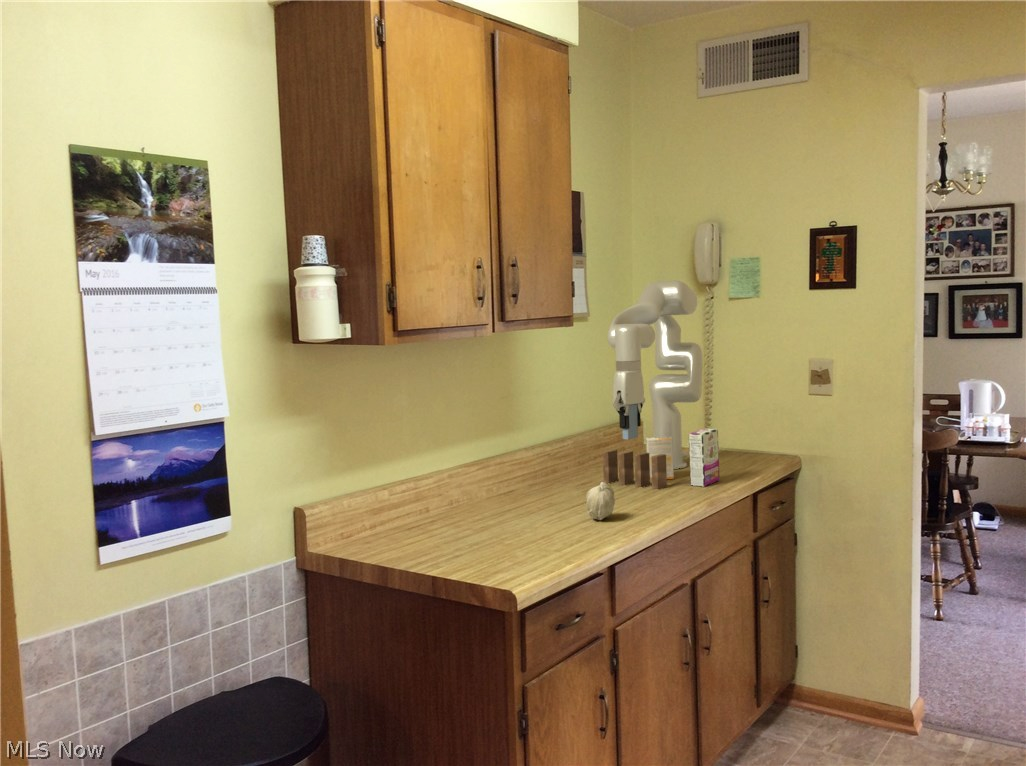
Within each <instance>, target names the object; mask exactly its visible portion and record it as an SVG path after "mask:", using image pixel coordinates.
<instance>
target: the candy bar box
mask: <svg viewBox="0 0 1026 766" xmlns="http://www.w3.org/2000/svg"><path fill="white" fill-rule="evenodd" d="M688 449H689V451H688V453H689V470H690V471H689V472H690V473H689V474H690V475H689V476H690V478H689V479H690V486H691V485H693V486H692V487H698V486H702V487H703V488H706V487H708V486H711V485H713V484H715V483H717V482H719V481H720V461H719V460H720V459H719V456H720V455H719V453H720V451H719V429H718V428H708V427H706V428H705V427H704V428H701V429H698V430H695V431H693V432H689V433H688ZM712 483H713V484H712ZM707 485H708V486H707ZM705 486H706V487H705ZM702 487H701V488H702Z"/></svg>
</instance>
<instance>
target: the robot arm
mask: <svg viewBox="0 0 1026 766" xmlns="http://www.w3.org/2000/svg"><path fill="white" fill-rule="evenodd" d="M697 306H698V297H697V294H696V293H695V291H694V290H693V288H691V287H690V286H689V285H688V284H687V283H685V282H684V281H682V280H681V281H680V280H661V281H660V280H659V281H653V282H652V281H651V282H649V283H648V284H646V286H644V288H643V291H642V292H641V294H640V296H639V298H638V300H637V302H636V304H633V305H632V306H630V307H628V308H626V309H624V310H622V311H621V312H619V313H617V314H616V315H615V316H614V318H613V320H612V322H611V324H610V325H609V328H608V331H607V342H608V344H609V346H610V347H611V348H612V349H615V351H614V352H615V372H614V375H613V376H614V377H613V382H612V383H613V384H612V385H613V386H612V402H613V406H612V407H613V408H614V409H615V411H616V412H617V415H618V417H619V418H618V419H619V420H618V421H619V429H622V430H623V429H629V415H628V408H629V405H634V404H637V421H638V428H639V427H641V420H642V417H641V413H642V409H643V408H644V407H643V405H644V404H645V403H646V398H645V390H644V379H643V378H644V377H643V373H642V351H641V349H647V348H650V347H652V345H653V344H654V342H655V346H654V361H655V362H654V363H655V367H656V368H657V369H658V370H662V371H685V372H687V374H683V373H681V374H677V373H675V374H674V373H669V374H667V373H665V374H662V373H661V374H657V375H654V376H653V377H651V379H650V381H649V385H648V389H649V396H650V400H651V406H652V409H651V410H652V431H653V432H652V436H653V437H671V438H672V439H673V464H674V470H677V469H678V470H679V468H680V469H684V468H686V467H687V466H688V463H687V461H684V460H683V459H685V458H687V457H688V452H686V451H683V448H682V447H683V446H682V445H683V443H682V437H683V436H682V414H681V412H680V410H679V408H678V407H677V406H676V405H675V403H685V404H686V403H687V404H688V403H697V402H698V401H700V400H701V398H702V391H703V351H702V348H701V346H700V344H698V343H696V342H687V341H684V342H682V341H681V340H682V338H681V337H682V335H681V334H682V333H681V332H682V331H681V330H682V329H681V326H680V324H679V323H678V321H677V320H676V319H675V318H674V317H673V316H683V315H685V316H686V315H688V316H689V315H692V314H694V313H695V311H696V310H697V308H698V307H697ZM652 324H653V326H654V327H653V326H652ZM654 329H655V330H654ZM623 407H625V409H623Z"/></svg>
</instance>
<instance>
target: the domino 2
mask: <svg viewBox="0 0 1026 766" xmlns="http://www.w3.org/2000/svg"><path fill="white" fill-rule="evenodd" d="M623 409H625V407H623ZM628 415H629V429H622V440H632V439H636V438H639V427H638V421H637V404H634V405H629V408H628Z"/></svg>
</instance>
